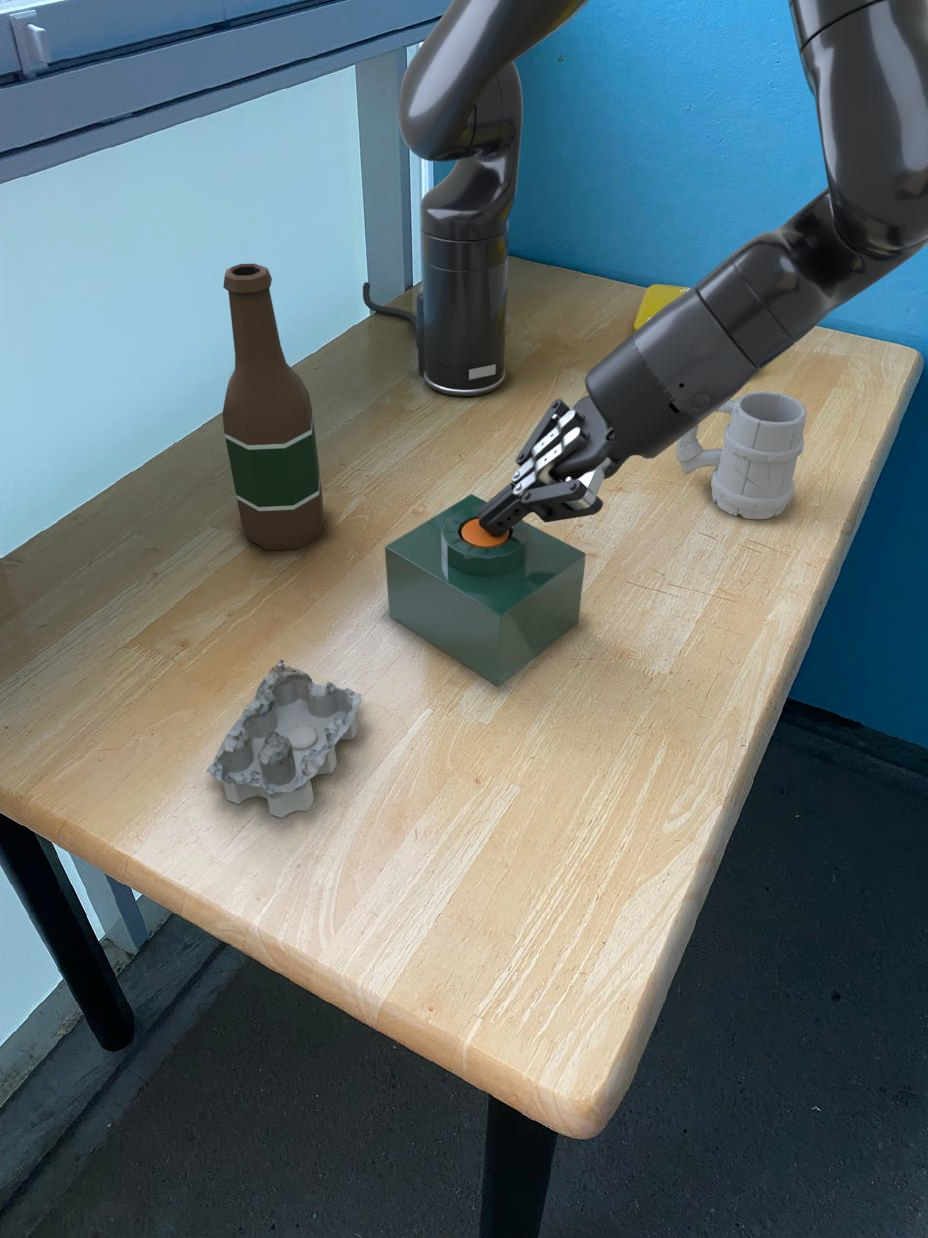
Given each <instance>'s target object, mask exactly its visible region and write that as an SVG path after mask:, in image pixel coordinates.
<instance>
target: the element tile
mask: <svg viewBox="0 0 928 1238" xmlns="http://www.w3.org/2000/svg"><path fill="white" fill-rule="evenodd" d="M691 288H692V287H690V286H689V287H688V286H678V285H677V286H676V285H671V284H662V283H661V284H659V283H655V284H652V285H650V286H649V287H647V288H646V289H645V292H644V294H643V297H642V300H641V302H640V305H639V309H638V312H637V314H636V317H635V320H634V324H633V326H632V333H631V335H632V334H633V333H634V332H635V331H637V330H638V329H639V328H640V327H641V326H642V325H644V324H645V323H646V322H647V321H648V320H649V319H650V318H652V317H653V316H654V315H655V314H656V313H657V312H659V311H660V310H661V309H662V308H664V307H665V306H666V305H668V304H669V303H670V302H672V301H673V300H675V299H677V298H678V297H680V296H681V295H683V294H684V293H686V292H687V291H688V290H690V289H691Z"/></svg>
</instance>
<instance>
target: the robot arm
mask: <svg viewBox="0 0 928 1238" xmlns="http://www.w3.org/2000/svg"><path fill="white" fill-rule="evenodd" d="M590 1H591V0H452V1H451V3H450V4H449V6H448V7H447V9H446V10H445V11H444V13H443V15H442V16H441V18H440V19H439V20H438V22H437V23H436V25H434V27H433V28H432V30H431V31H430V33H429V34H428V35H427V36H426V39H424V41H423V43H422V44H421V45H420V47H419V48H418V50H417V51H416V52H415V54H414V55H413V57H412V59H411V60H410V62H409V63H408V66H407V68H406V69H405V72H404V74H403V77H402V79H401V80H402V81H401V83H400V87H399V92H398V98H397V123H398V127H399V132H400V135H401V137H402V140H403V142H404V143H405V146H407V148H408V149H409V150H410V151H411V153H413V154H414V155H416V156H417V157H418V158H420V159H422V160H425V161H428V162H434V163H435V162H436V163H445V162H447V163H448V162H453V161H456V162H455V164H454V166H453V168H452V169H451V170H450V171H449V173H448V174H447V175H446V176H445V177H444V178H443V179H442V180H441V181H439V183H437V184H436V185H435V186H433V187H432V188H431V189H429V190H428V191H427V192H426V193H425V194H424V196H423V197H422V199H421V201H420V208H419V213H420V215H419V216H420V217H419V219H420V222H419V223H420V243H421V244H420V247H421V249H420V251H421V253H420V254H421V278H422V279H421V281H422V291H420V292H419V293H418V294H417V295H416V299H415V300H416V302H415V303H416V316H415V315H414V314H413V313H411V312H410V311H407V310H405V309H401V308H396V307H391V306H390V307H389V306H384V305H380V304H377V303H375V302H373V301H372V300H371V297H370V288H371V284H370V282H367V281H366V282H364V283H363V285H362V300H363V303H364V305H366V307H367V308H368V309H370V310H371V311H374V312H376V313H380V314H385V315H389V316H390V315H391V316H396V317H400V318H404V319H406V320H408V321H409V322H410V323H411V324H412V326H413V328H414V331H415V335H416V337H415V338H416V349H417V359H418V360H417V361H418V362H417V363H418V375H420V376H422V377H423V380H424V382H425V384H426V385H427V386H428V388H431V389H432V390H434V391H435V392H438V393H441V394H444V395H449V396H454V397H475V396H481V395H486V394H489V393H491V392H493V391H495V390H497V389H499V388H500V387H501V386H502V385H503V384H504V382H505V380H506V369H505V360H506V359H505V358H506V335H507V334H506V332H507V331H506V330H507V303H508V302H507V301H508V272H509V271H508V270H509V242H510V241H509V238H510V215H511V212H512V208H513V206H514V204H515V201H516V197H517V191H518V181H519V180H518V179H519V170H520V169H519V167H520V157H521V147H522V145H521V144H522V134H523V122H524V121H523V119H524V99H523V87H522V83H521V78H520V74H519V71H518V68H517V66H516V64H515V62H514V61H516V60H517V59H518V58H520V57H521V56H523V55H524V54H525V53H527V52H528V51H530V50H532V49H533V48H534V47H535V46H537V45H539V44H540V43H541V42H543V41H544V40H546V39H547V38H548V37H550V36H551V35H552V34H554V33H555V32H557V31H558V30H559V29H561V28H562V27H563V26H564V25H565V24H567V23H568V22H569V21H570V20H571V19H574V17H575V16H576V15H578V14H579V13H580V12H581V11H582V10H583V9H584V8H585V7H586V5H587V4H588V3H589V2H590ZM787 3H788V7H789V12H790V16H791V23H792V26H793V27H792V28H793V31H794V36H795V41H796V46H797V50H798V55H799V58H800V64H801V67H802V70H803V74H804V77H805V80H806V83H807V86H808V89H809V91H810V93H811V95H812V97H813V99H814V101H815V111H816V119H817V125H818V131H819V137H820V143H821V150H822V156H823V162H824V168H825V176H826V181H827V187H825V188H824V189H823V190H822V191H821V192H819V194H817V195H816V196H815V197H814V198H813V199H811V200H809V202H808V203H806V204H805V205H804V206H803V207H801V208H800V210H798V211H797V212H796V213H794V214H793V215H792V216H791V217H790V218H788V219H787V220H786V221H785V222H784V223H783V224H781V225H780V226H779V227H776V228H774V229H772V230H767V231H764V232H761V233H759V234H757V235H755V236H754V237H752V238H750V239H748V241H746V242H745V243H744V244H741V246H739V247H738V248H737V249H736V250H735V251H733V252H732V253H731V254H730V255H728V256H727V257H726V258H725V259H724V260H722V261H721V262H720V263H719V264H718V265H717V266H715V267H714V268H713V269H712V270H711V271H710V272H709V273H707V274H706V275H705V276H703V278H701V279H700V280H699V281H698V282H697V283H696V284H695V286H692V287H690V288H691V289H690V290H688V291H687V292H686V293H684V294H683V295H681V296H680V297H678V298H677V299H675V300H673V301H672V302H670V303H669V304H668V305H666V306H665V307H664V308H662V309H661V310H660V311H659V312H657V313H656V314H655V315H654V316H653V317H652V318H650V319H649V320H648V321H647V322H646V323H645V324H644V325H642V326H641V327H640V328H639V329H638V330H637V331H635V332H634V333H633V332H632V333H633V334H632V333H631V335H629V336H628V337H627V338H626V339H625V340H624V341H622V342H621V343H620V344H619V345H618V346H617V347H615V348H614V349H613V350H612V351H611V352H610V353H609V354H608V355H606V356H605V357H604V358H603V359H601V361H599V362H598V363H597V364H596V365H595V366H593V367H592V368H591V369H590V370H589V371H587V373H586V375H585V377H584V384H585V388H586V391H587V394H588V395H586V396H584V397H581V398H580V399H579V400H578V401H577V402H576V403H575V404H574V405H573V406H572V405H571V406H568V405H567V404H566V403H565V402H564V401H563V400H562V399H561V398H556V399H555V400H554V401H552V403H551V404H550V405H549V407H548V409H547V410H546V411H545V413H544V414H543V416H542V418H541V420H540V421H539V423H538V424H537V426H536V427H535V428H534V430H533V432H532V433H531V435H530V436H529V438H528V439H527V441H526V442H525V444H524V445H523V446H522V449H521V450H520V451H519V453H518V455H517V456H516V458H515V463H516V464H517V465H518V466H519V467H518V469H516V470H515V471H514V472H513V474H512V475H511V477H510V481H511V482H509V483H508V485H506V486H505V487H504V488H502V489H501V490H500V491H499V492H498V493H496V494H495V495H494V496H493V497H492V498H491V499H489V500H488V501H486V502H487V503H486V504H485V505H483V506H482V507H481V508H480V509H479V510H478V519H479V525H480V527H481V528H483V529H484V530H485V531H486V532H488V533H489V534H490V535H491V536H493V537H500V536H502V535H503V534H504V533H505V532H507V531H508V530H509V529H510V528H512V527H513V526H514V525H515V524H517V523H518V522H519V521H520V520H524V518H526V517H527V516H528V515H529V514H532V513H534V514H535V515H536V516H538V518H539V519H540V520H541V521H542V522H543V523H552V522H558V521H563V520H565V521H566V520H569V519H576V518H582V517H583V518H584V517H588V516H593V515H596V514H597V513H599V512H600V511H601V510H602V508H603V506H604V501H603V500H602V499H601V498H599V496H598V495H597V494H598V492H599V490H600V488H601V485H602V484H603V481H604V480H607V479H610V478H612V477H613V476H614V475H615V474H617V472H618V471H619V470H620V469H621V467H622V466H623V465H624V464H625V462H627V460H628V459H629V458H631V457H633V456H640V457H641V458H644V459H647V460H648V459H649V460H650V459H655V458H657V457H658V456H659V455H660V454H662V453H663V452H664V451H665V450H667V449H668V448H670V446H672V445H673V444H675V443H676V442H678V439H680V438H681V437H682V436H683V435H685V434H686V433H687V432H689V431H690V430H691V429H692V428H694V427H695V426H696V425H698V424H699V425H700V423H702V422H703V421H704V420H706V419H707V418H708V417H709V416H710V415H712V414H714V412H717V411H716V410H717V409H718V408H719V407H721V406H722V405H723V404H725V403H726V402H727V401H728V400H732V399H733V397H734V396H736V395H737V394H738V393H739V392H740V391H741V390H742V389H743V388H744V387H745V386H746V385H747V384H748V382H750V381H751V380H752V378H754V377H755V376H756V375H757V374H759V373H760V370H763V369H765V368H766V367H767V366H768V365H769V364H771V363H773V361H775V360H776V359H777V358H778V357H780V356H781V355H783V354H784V353H785V352H786V351H788V350H789V349H790V348H792V347H793V346H794V345H795V344H796V343H798V342H799V341H801V339H803V338H804V337H805V336H806V335H808V334H809V332H811V331H812V330H814V328H815V327H816V326H818V324H820V322H822V321H823V320H824V319H825V318H826V317H827V316H828V315H830V314H831V313H832V312H833V311H835V310H836V309H837V308H839V307H840V306H843V305H844V304H845V303H847V302H848V301H851V300H852V299H853V298H855V297H857V296H858V295H860V294H861V293H862V292H864V291H865V290H866V289H868V288H870V287H871V286H873V285H874V284H876V283H877V282H879V281H880V280H882V279H883V278H884V277H886V276H888V275H889V274H890V273H892V272H893V271H895V270H896V269H897V268H898V267H900V266H901V265H903V264H904V263H906V262H907V261H908V260H910V259H911V258H912V257H913V256H915V255H916V254H918V253H919V252H920V251H921V250H923V249H924V248H925V247H926V246H928V0H787ZM699 425H698V426H699Z"/></svg>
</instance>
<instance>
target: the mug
mask: <svg viewBox="0 0 928 1238" xmlns="http://www.w3.org/2000/svg"><path fill="white" fill-rule="evenodd" d="M715 412H718V413H724V414H728V415H730V420H729V423H728V424H726V426H725V428H724V431H723V438H722V440H723V447H722V448H709V449H704V448H703V447H702V445H701V444H700V441H699V439H698V438H697V437H698V431H699V427H700V423H699V424H698V425H696V426H695V427H694V428H692V429H691V430H690V431H689V432H687V433H686V434H685V435H683V436H682V437H681V438H680V439H678V440H677V443H676V446H675V454H676V460H677V461H678V462H680V466H681V470H682V472H683V473H684V474H686V475H688V474H690V473H693V472H695V471H696V470H698V469H700V468H705V467H706V468H707V467H714V469H713V472H712V475H711V480H710V486H711V489H712V490H711V491H712V492H711V497H712V500H713V502H714V503H716V506H717V507H718V508H719V509H720V510H722V511H724V512H726V513H728V514H729V515H731V516H734V517H737V516H741V517H742V519H746V520H747V519H748V520H767V519H771V518H773V517H778V516H779V515H781V514H782V513H783V512H784V510H785V509H786V508H787V504H788V503H789V502H790V501H791V500H792V498H793V497H794V493H795V482H794V474H795V469H796V466H797V461H798V457H799V456H800V455H801V454H803V452H804V447H805V439H804V436H803V434H804V430H805V426H806V422H807V417H808V411H807V407H806V405H804V403H803V402H802V401H799V399H796V398H795V397H793V396H791V395H789V394H785V393H780V392H779V391H778V392H777V391H770V390H756V391H755V390H754V391H749V392H748V393H743V394H741V395H740V396H738V397H737V398H736V400H733V399H730V400H728V401H727V402H726V403H725V404H723V405H722V406H721V407H719V408H718V409H717V410H716V411H715Z"/></svg>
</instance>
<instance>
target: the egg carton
mask: <svg viewBox="0 0 928 1238" xmlns="http://www.w3.org/2000/svg"><path fill="white" fill-rule="evenodd" d="M284 662H285V661H284V660H283V659H280V660H279V661H277V662H276V664H275V666H274V667H273V666H272V667H271V668H270V669H269V670H268V673H267V674H266V676H264V677H263V679H262V681H261V682H260V684H259V686H258V687H257V689H256V693H255V696H254V698H253V699H252V700H251V701H250V702H249V703H248V704H247V705H246V706H245V707H244V708H243V711H242V714H241V715H240V716H239V718H238V719H237V721H236V722H235V723H234V725H233V726H232V727H231V728H230V729H229V730H228V731H226V735H225V737H224V738H223V741H222V743H221V744H220V747H219V749H218V752H217V753H216V755H215V757H214V759H213V762H212V764H211V765H209V766H208V767H207V768H206V771H205V774H208V773H209V774H211V775H212V776H213V778H214V779H215V780H216V781H219V782H221V785H222V786H223V791H224V794H225V799H226V800H227V801H228V802H231V803H234V804H236V805H241V804H242V803H243V802H244V801H246V800H247V799H250V798H256V797H259V798H263V799H266V801H267V806H268V809H269V814H270V815H271V816H274V817H278V818H281V819H284V817H286V816H287V815H289V814H291V813H293V812H299V811H301V812H308V811H309V810H310V809H311V807H312V806H313V804H314V802H315V797H314V791H313V786H312V782H311V779H314V777H316V776H320V775H331V774H332V773H334V771H335V769H336V768H337V765H338V760H337V754H336V745H337V744H338V742H339V741H342V740H349V741H351V740H353V739H354V738H355V737H356V735H357V733H358V731H359V724H358V718H357V712H358V710H359V708H360V706H361V703H362V694H361V693H358V692H355V691H354V690H352V689H350V688H349V687H346V688H341V687H338V686H336V685H335V684H333V683H332V682H329V681H328V682H326V684H325V685H324V684H323V685H322V684H320V683H315V682H313V679H312V678H311V676H310V675H309V674H308V673H306V672H305V671H303V670H302V669H298V668H295V667H292V666H291V665H288V664H285V663H284Z"/></svg>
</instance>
